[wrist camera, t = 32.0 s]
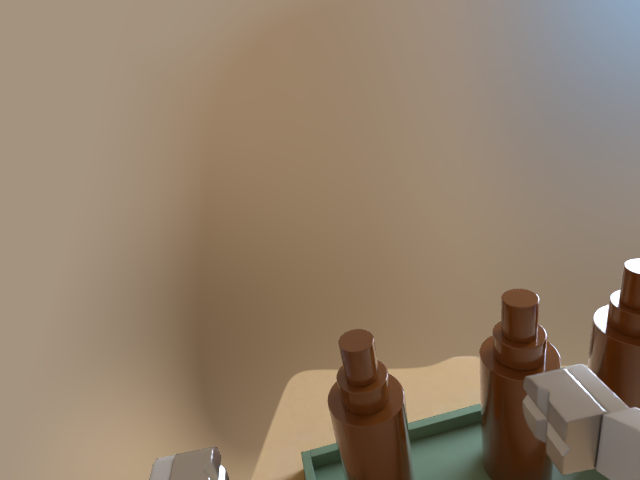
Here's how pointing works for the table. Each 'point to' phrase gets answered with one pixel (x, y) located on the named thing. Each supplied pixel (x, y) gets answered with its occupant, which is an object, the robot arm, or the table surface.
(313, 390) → the table surface
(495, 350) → the row bottle
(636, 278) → the row bottle
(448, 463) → the tray
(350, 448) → the amber bottle
